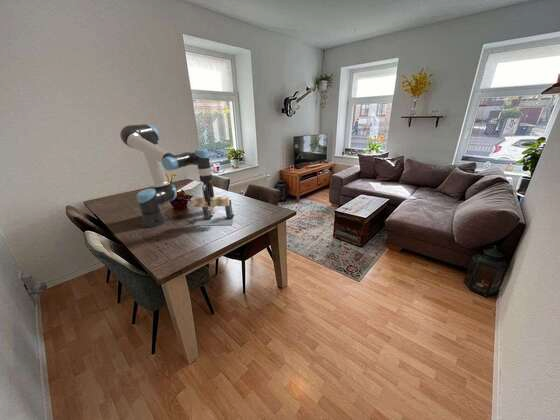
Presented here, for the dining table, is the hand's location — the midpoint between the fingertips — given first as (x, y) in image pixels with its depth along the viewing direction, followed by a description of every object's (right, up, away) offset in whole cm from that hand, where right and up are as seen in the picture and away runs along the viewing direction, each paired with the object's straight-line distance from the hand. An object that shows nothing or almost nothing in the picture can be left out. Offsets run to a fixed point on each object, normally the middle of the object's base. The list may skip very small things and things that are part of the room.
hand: (211, 208), depth 148 cm
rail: (0, +2, -1) cm, 2 cm away
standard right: (+9, -6, +12) cm, 17 cm away
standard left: (-7, -7, +13) cm, 16 cm away
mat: (0, -10, +4) cm, 11 cm away
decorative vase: (-7, -2, +24) cm, 25 cm away
